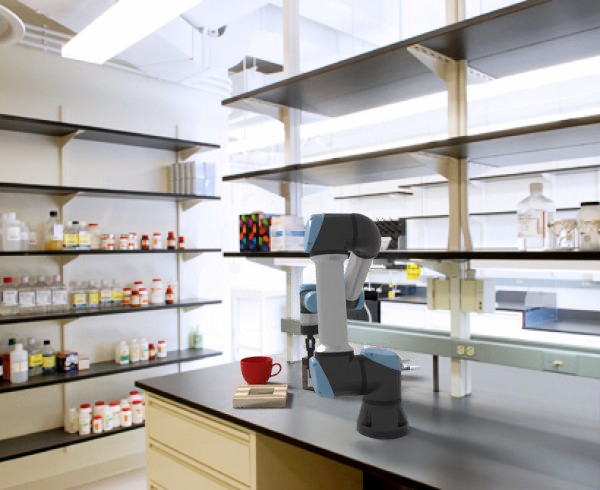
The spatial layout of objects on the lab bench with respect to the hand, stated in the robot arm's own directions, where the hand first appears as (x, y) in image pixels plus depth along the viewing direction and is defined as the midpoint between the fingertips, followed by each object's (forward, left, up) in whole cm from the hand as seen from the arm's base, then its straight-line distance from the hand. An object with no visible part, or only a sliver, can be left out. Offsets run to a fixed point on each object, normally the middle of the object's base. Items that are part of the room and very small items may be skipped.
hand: (311, 383), depth 190 cm
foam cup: (+18, -27, -2) cm, 33 cm away
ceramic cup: (+7, +20, -2) cm, 21 cm away
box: (0, 0, -2) cm, 2 cm away
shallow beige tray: (-13, +18, -2) cm, 22 cm away
